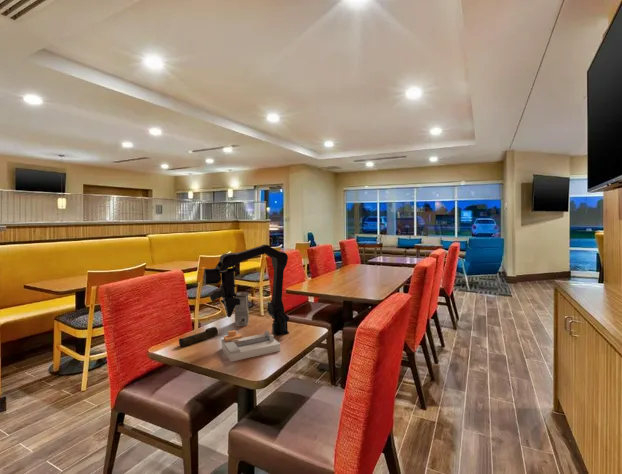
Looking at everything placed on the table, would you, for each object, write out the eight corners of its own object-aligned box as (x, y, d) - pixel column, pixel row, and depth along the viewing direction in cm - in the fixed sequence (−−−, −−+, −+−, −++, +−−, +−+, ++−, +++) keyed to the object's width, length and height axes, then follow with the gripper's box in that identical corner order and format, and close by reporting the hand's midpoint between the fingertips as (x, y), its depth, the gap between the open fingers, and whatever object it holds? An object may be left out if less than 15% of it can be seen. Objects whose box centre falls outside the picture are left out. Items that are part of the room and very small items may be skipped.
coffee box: (237, 320, 181) (236, 291, 180) (249, 320, 181) (248, 291, 180) (234, 326, 172) (233, 295, 171) (247, 325, 172) (246, 295, 171)
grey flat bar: (268, 337, 147) (268, 335, 146) (271, 339, 143) (271, 338, 143) (235, 343, 140) (235, 342, 139) (237, 346, 136) (237, 344, 136)
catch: (239, 335, 146) (239, 329, 146) (242, 338, 143) (242, 331, 142) (223, 338, 143) (223, 332, 143) (225, 341, 139) (225, 334, 139)
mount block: (267, 339, 152) (267, 327, 152) (280, 350, 139) (279, 337, 139) (221, 348, 143) (221, 335, 142) (230, 361, 129) (230, 347, 129)
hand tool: (182, 348, 144) (182, 338, 144) (178, 346, 147) (178, 336, 147) (221, 336, 158) (220, 327, 158) (216, 334, 161) (216, 325, 160)
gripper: (206, 280, 152) (207, 314, 153) (213, 288, 135) (214, 325, 136) (230, 278, 157) (231, 310, 158) (240, 285, 140) (241, 321, 141)
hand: (229, 316), depth 148 cm, fingers closed
